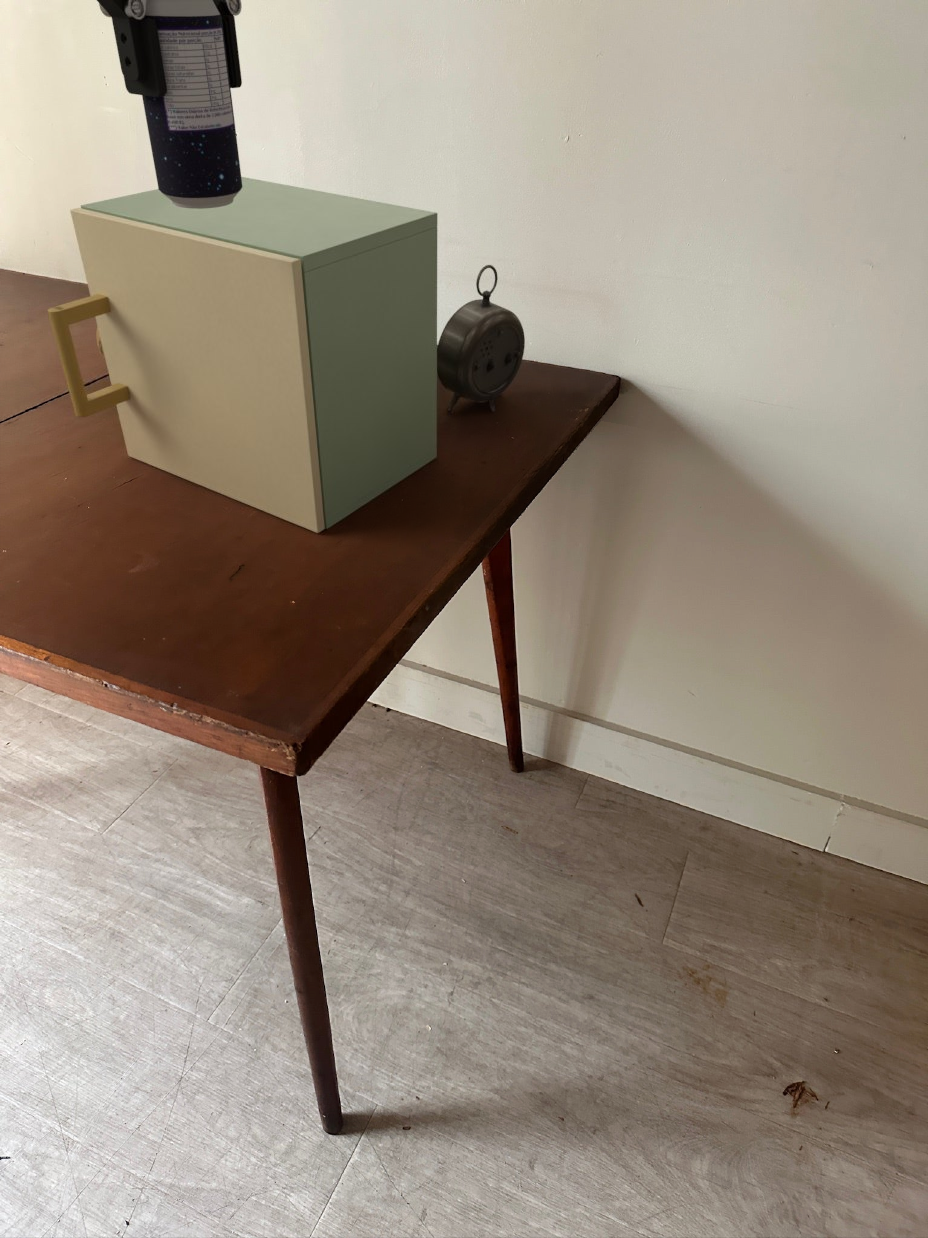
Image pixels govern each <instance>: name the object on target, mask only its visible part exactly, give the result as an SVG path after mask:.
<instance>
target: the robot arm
mask: <svg viewBox="0 0 928 1238" xmlns="http://www.w3.org/2000/svg"><path fill="white" fill-rule="evenodd" d="M96 1H97V2H98V6H99V9H100V11H101V14H103V16H105V17H107V18H111V22H112V27H113V32H114V33H113V34H114V38H115V43H116V49H117V55H118V59H119V65H120V70H121V73H122V76H123V79H124V85H125V89H126V91H127V92H128V93H129V94H131V95H138V96H142V95H144V96H151V97H163V96H165V94H166V93H167V86H166V80H165V74H164V68H163V61H162V55H161V49H160V43H159V36H158V30H157V26H156V24H155V20H154V19H146V18H145V13H146V3H147V0H96ZM213 2H214V4H215V6H216V8H217V10H218V11H219V13H220V15H221V17H222V23H223V31H224V40H225V48H226V56H227V64H228V72H229V80H230V89H238V88H241V87H242V84H243V79H242V71H241V62H240V53H239V45H238V36H237V29H236V19H235V16H239V15H240V14H241V12H242V0H213Z"/></svg>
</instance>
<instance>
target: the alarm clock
mask: <svg viewBox="0 0 928 1238" xmlns="http://www.w3.org/2000/svg"><path fill="white" fill-rule="evenodd" d="M487 269H491V270H492V271H493V275H494V282H493V286H492V288H491V289H490V291H489V290H483V292H481V290H480V280H481V277H482V275H483V273H484V271H485V270H487ZM475 283H476V290H477V293H478V295H480V296H481V297H482V298H481V299H480V298H479V299H474V300H471V301H469V302H467V303H465V304H463V305H462V306H461V307H459V308H458V309H457V310H456V311H455V312H454V313H453V314H452V316H451V317H450V318H449V319H448V321H447V322H446V324H445V326H444V328H443V330H442V332H441V335H440V337H439V340H438V342H437V378H438V380H439V382H440V383H441V385H442V386H443V387H444V388H445V390H448V391H449V392H451V393H453V396H452V398H451V401H450V404H449V407H447V408H446V413H448V414H451V413H452V411H453V408H454V407H455V406H456V404H457V403H458V402H459V399H460V398H463V399H465V400H467V401H468V402H472V403H478V404H480V403H481V404H482V403H487V402H488V404H489V408H490V411H492V412H494V413H495V412H496V406H495V399H496V398H497V397H499V396H500V395H502V394H503V392H505V391H506V390H507V389H508V388H509V386H510V385H511V384H512V382H513V381H514V379H515V377H516V376H517V374H518V372H519V369H520V367H521V364H522V361H523V357H524V354H525V347H526V346H525V344H526V340H525V339H526V338H525V330H524V328H523V324H522V322H521V320H520V319H519V317H518V316H517V315H516V314H515V313H514V312H513V311H512V310H510V309H507V308H505V307H503V306H500V305H498V304H496V303H494V302H491V301H490V298H491V296H492V294H493V293H494V291H495V289H496V287H497V284H498V271H497V269H496V268H495V266H493V264H486V265H485V266H483V267H482V268H481V269H480V270H479V272H478V274H477V277H476V282H475Z"/></svg>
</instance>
